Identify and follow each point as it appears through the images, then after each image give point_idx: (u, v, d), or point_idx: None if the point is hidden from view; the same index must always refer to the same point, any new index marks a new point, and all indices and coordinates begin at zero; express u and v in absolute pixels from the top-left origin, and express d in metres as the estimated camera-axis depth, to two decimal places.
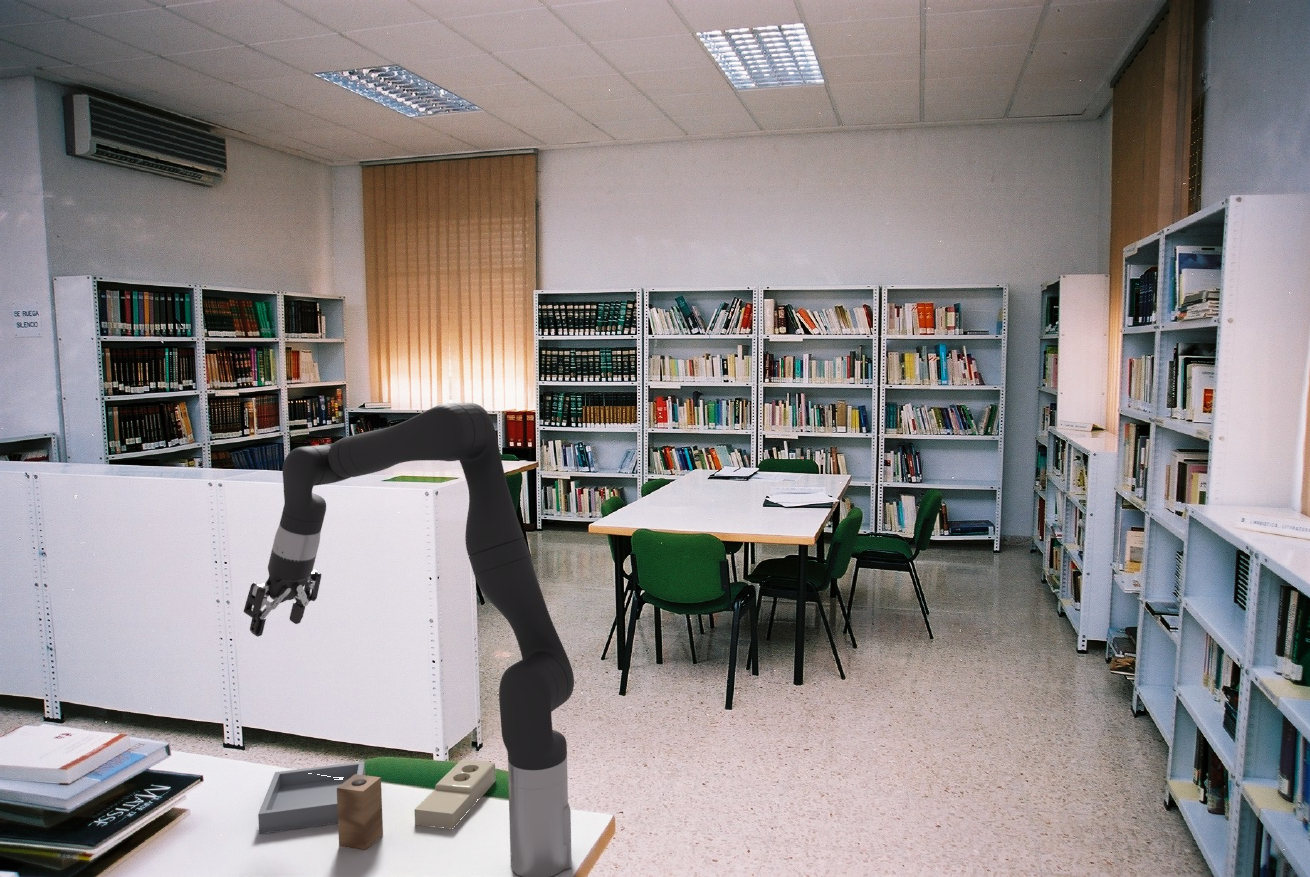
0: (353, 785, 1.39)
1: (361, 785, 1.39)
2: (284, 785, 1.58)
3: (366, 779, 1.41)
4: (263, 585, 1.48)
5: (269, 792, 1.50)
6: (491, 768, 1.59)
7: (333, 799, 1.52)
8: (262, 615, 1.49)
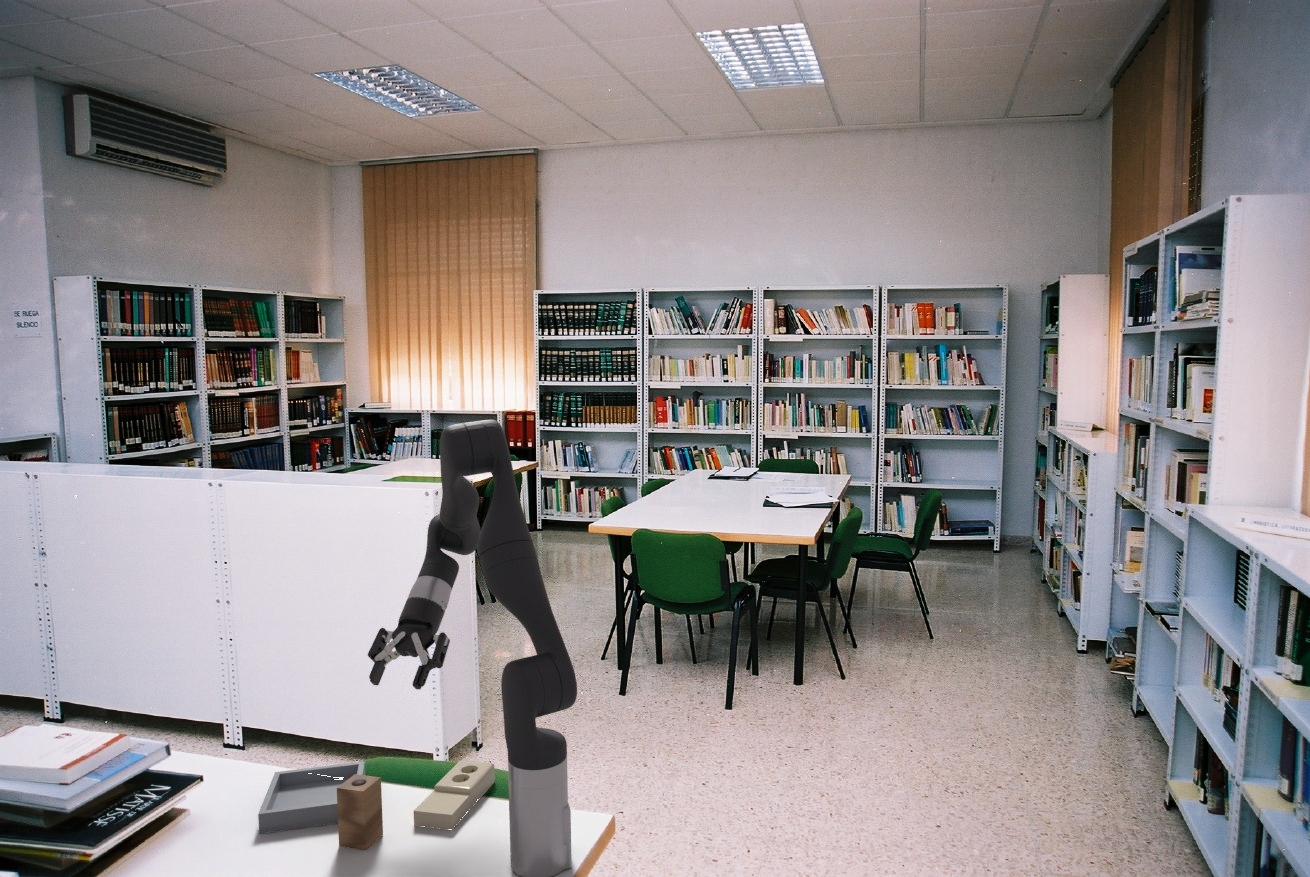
0: (353, 785, 1.39)
1: (361, 785, 1.39)
2: (284, 785, 1.58)
3: (366, 779, 1.41)
4: None
5: (269, 792, 1.50)
6: (490, 769, 1.59)
7: (333, 799, 1.52)
8: (377, 656, 1.54)
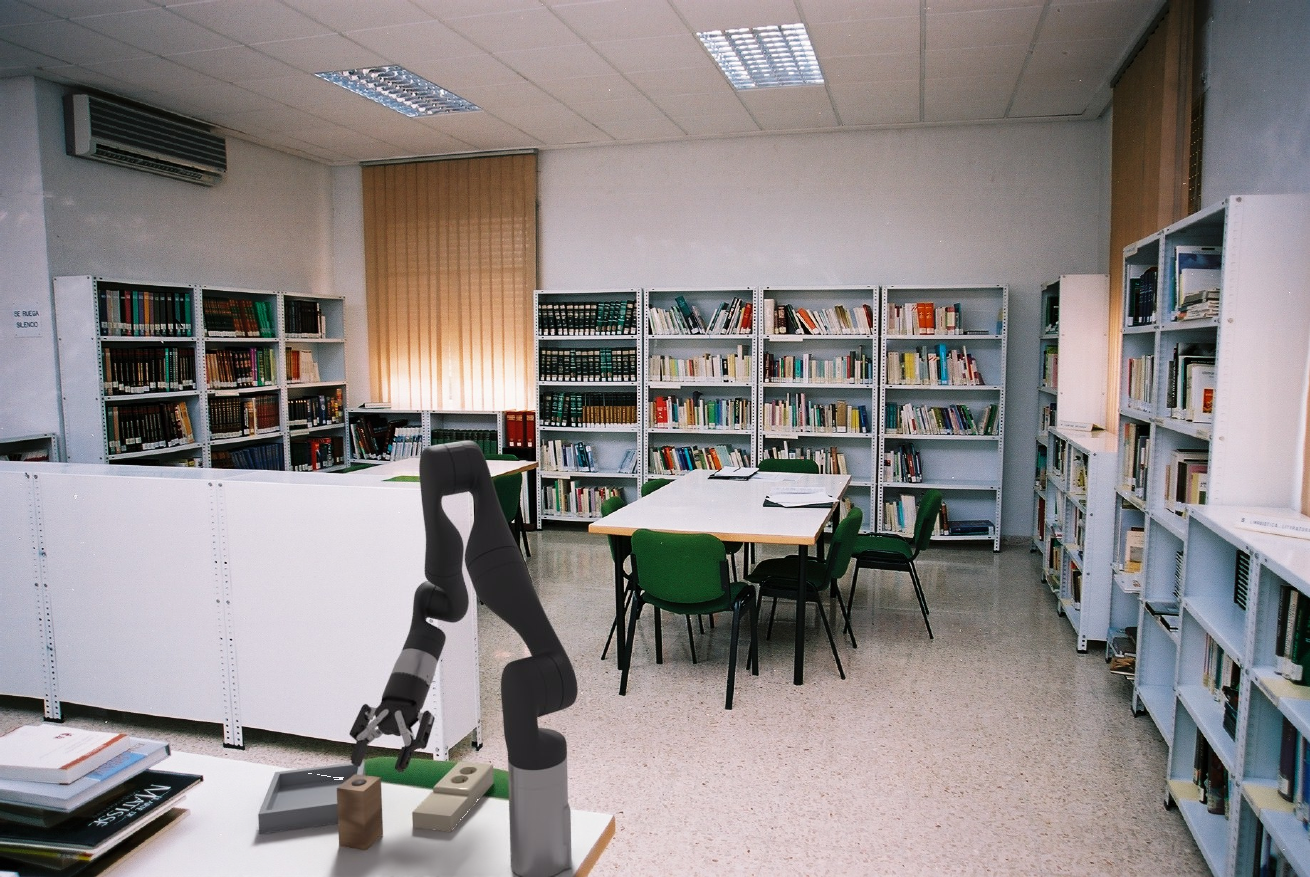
0: (353, 785, 1.39)
1: (361, 785, 1.39)
2: (284, 785, 1.58)
3: (366, 779, 1.41)
4: (372, 708, 1.53)
5: (269, 792, 1.50)
6: (489, 770, 1.58)
7: (333, 799, 1.52)
8: (359, 735, 1.48)
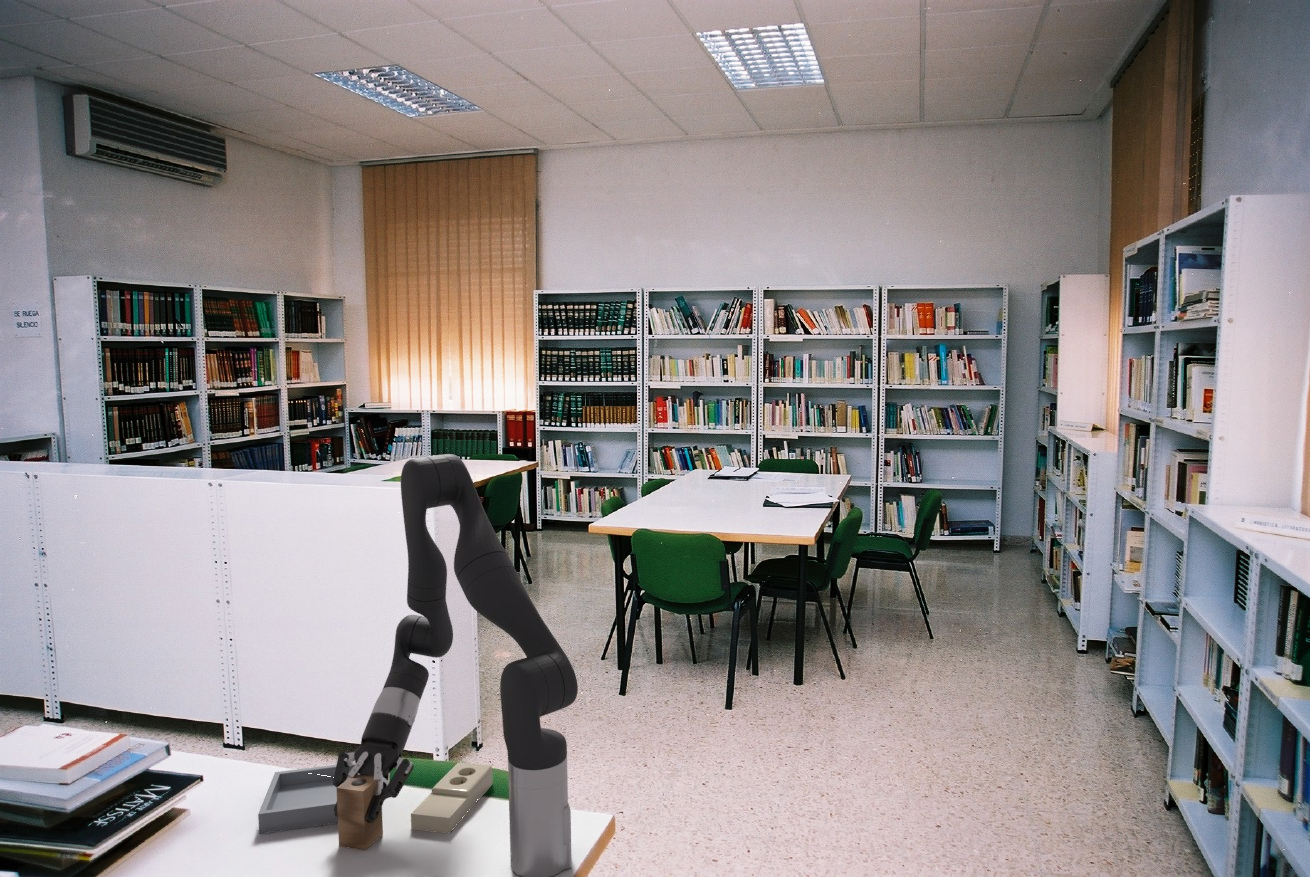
0: (353, 785, 1.39)
1: (361, 785, 1.39)
2: (284, 785, 1.58)
3: (366, 779, 1.41)
4: None
5: (269, 792, 1.50)
6: (488, 771, 1.58)
7: (333, 799, 1.52)
8: None
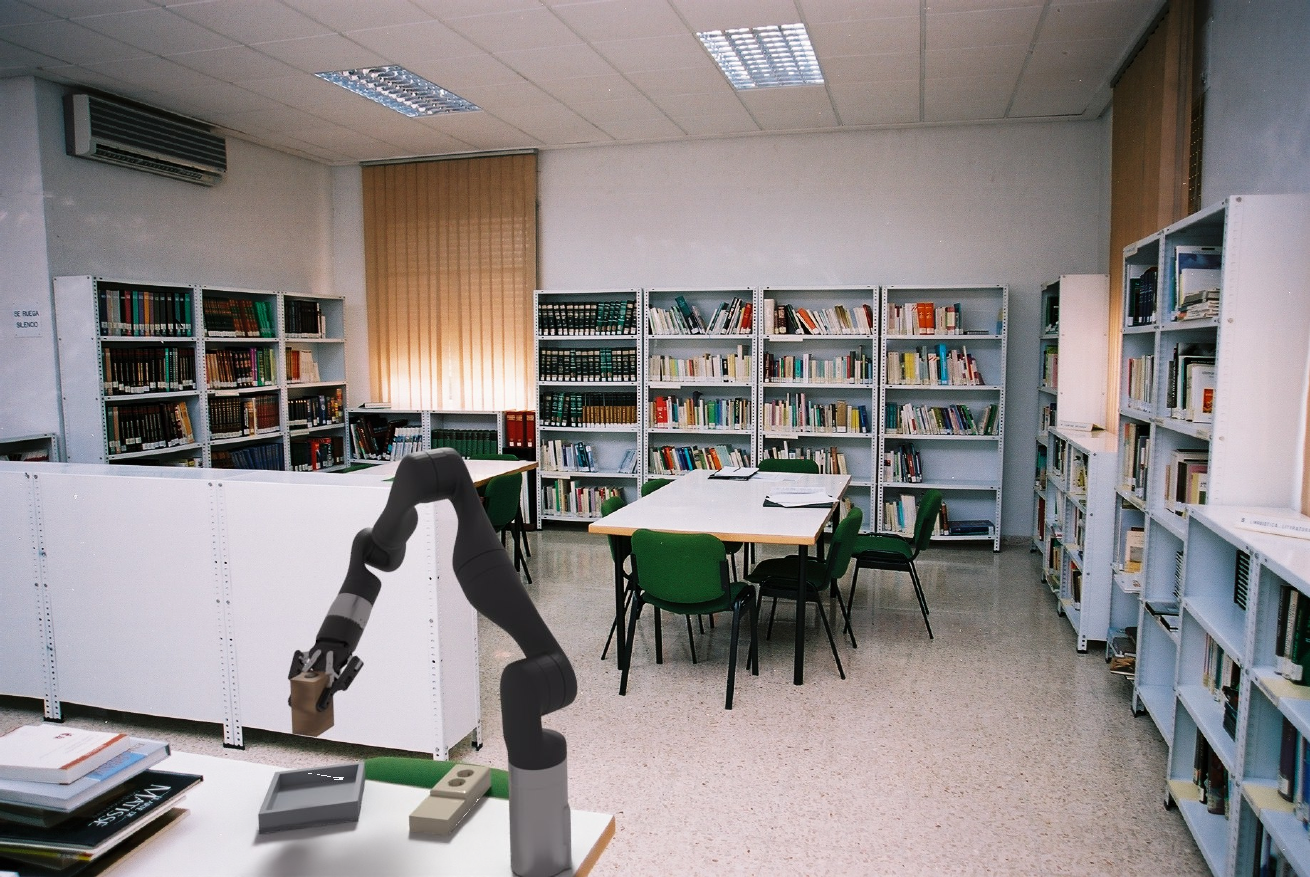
0: (305, 677, 1.50)
1: (313, 677, 1.50)
2: (284, 785, 1.58)
3: (318, 673, 1.52)
4: None
5: (269, 792, 1.50)
6: (486, 773, 1.57)
7: (333, 799, 1.52)
8: None
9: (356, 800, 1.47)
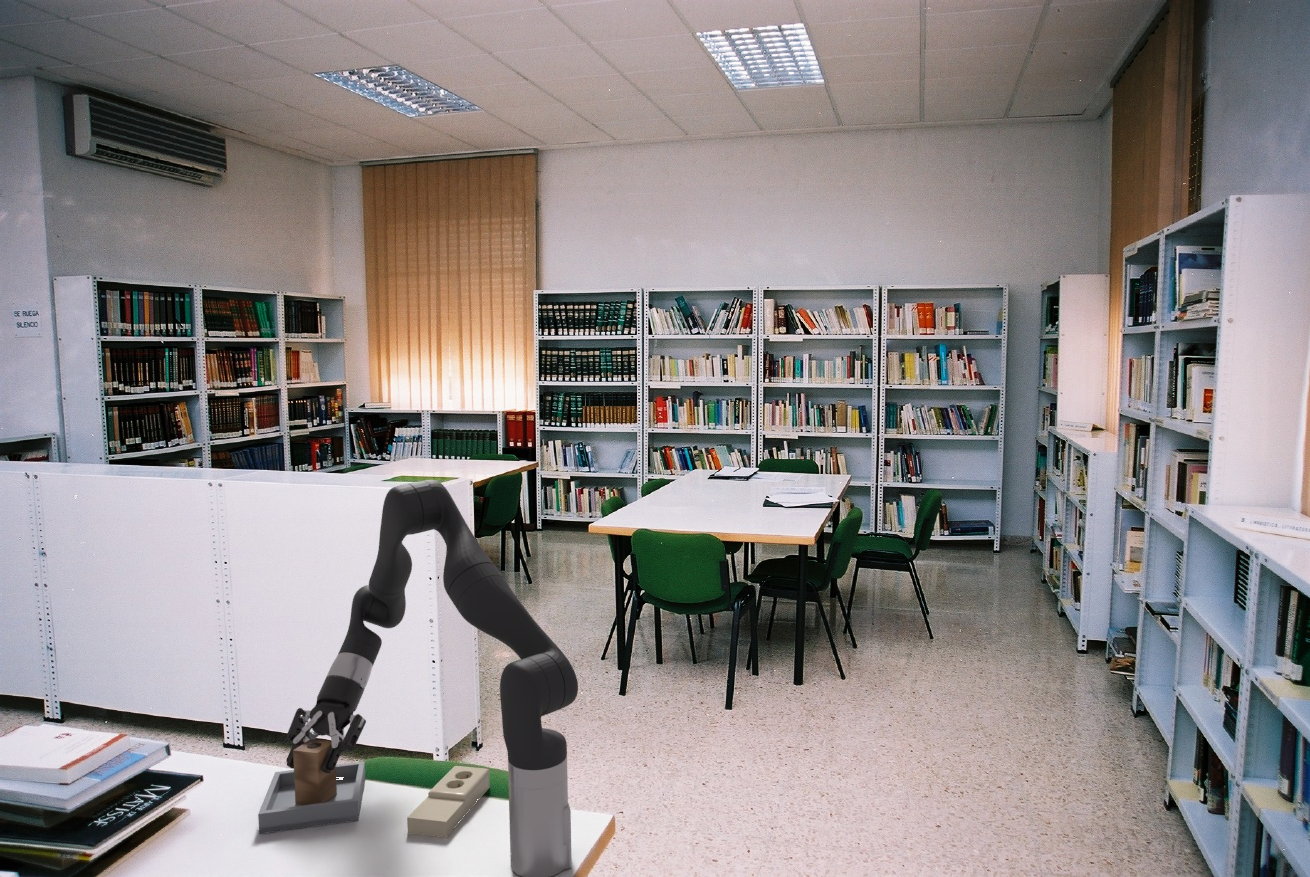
0: (308, 748, 1.51)
1: (316, 748, 1.51)
2: (284, 785, 1.58)
3: (321, 743, 1.53)
4: (307, 711, 1.58)
5: (269, 792, 1.50)
6: (485, 774, 1.57)
7: (333, 799, 1.52)
8: (295, 738, 1.54)
9: (356, 800, 1.47)
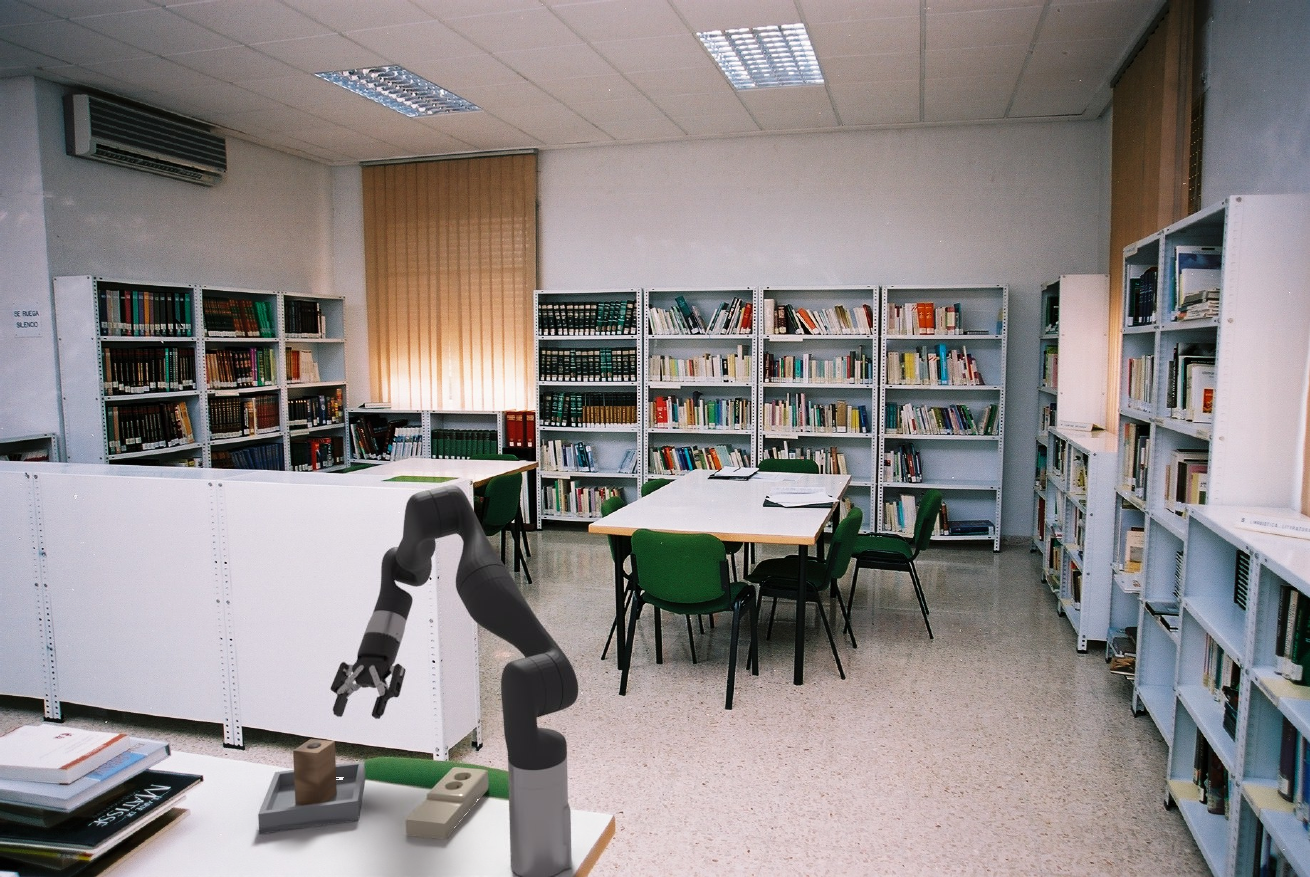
0: (308, 748, 1.51)
1: (316, 748, 1.51)
2: (284, 785, 1.58)
3: (321, 743, 1.53)
4: (350, 665, 1.70)
5: (269, 792, 1.50)
6: (484, 776, 1.56)
7: (333, 799, 1.52)
8: (339, 689, 1.66)
9: (356, 800, 1.47)
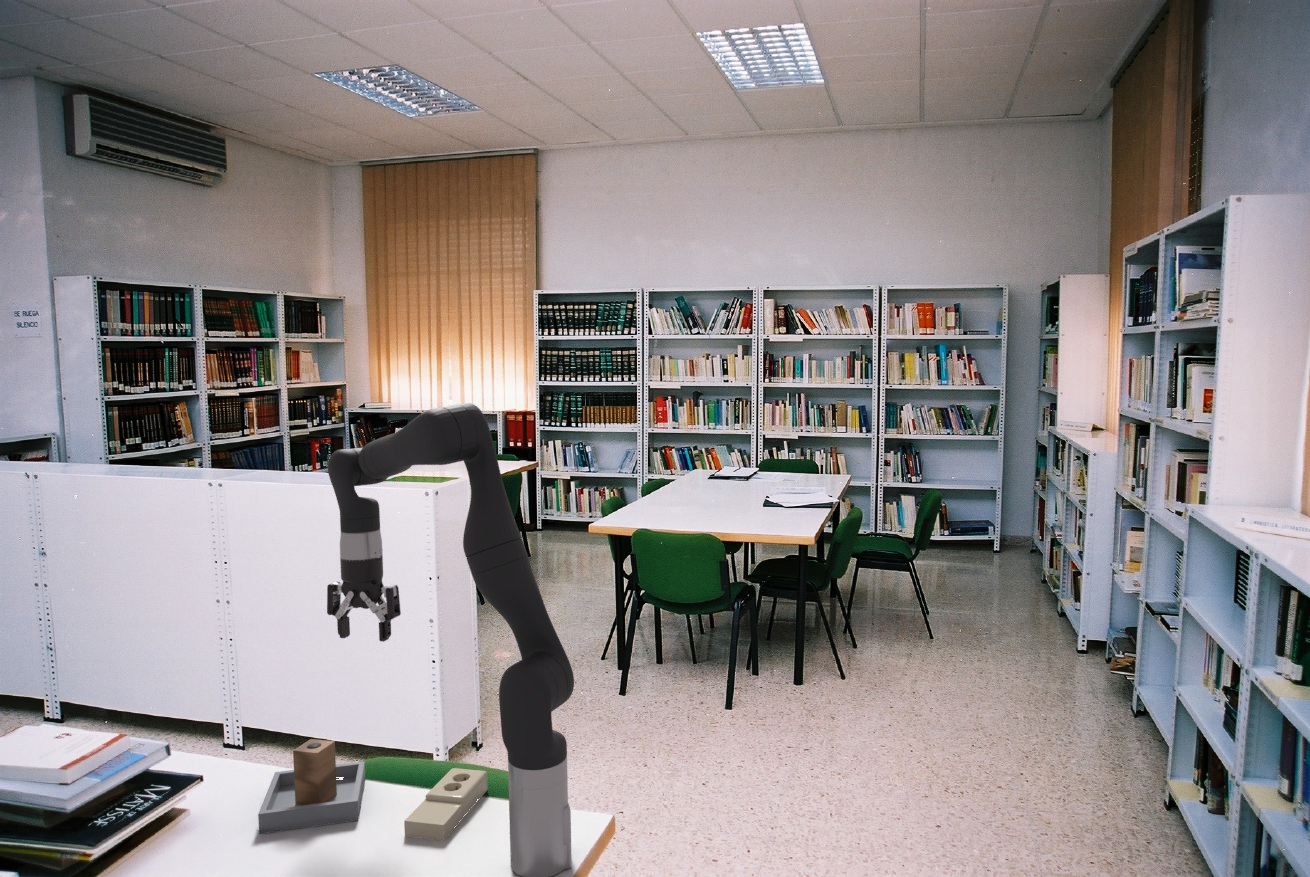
0: (308, 748, 1.51)
1: (316, 748, 1.51)
2: (284, 785, 1.58)
3: (321, 743, 1.53)
4: (338, 584, 1.59)
5: (269, 792, 1.50)
6: (483, 777, 1.56)
7: (333, 799, 1.52)
8: (336, 614, 1.59)
9: (356, 800, 1.47)
